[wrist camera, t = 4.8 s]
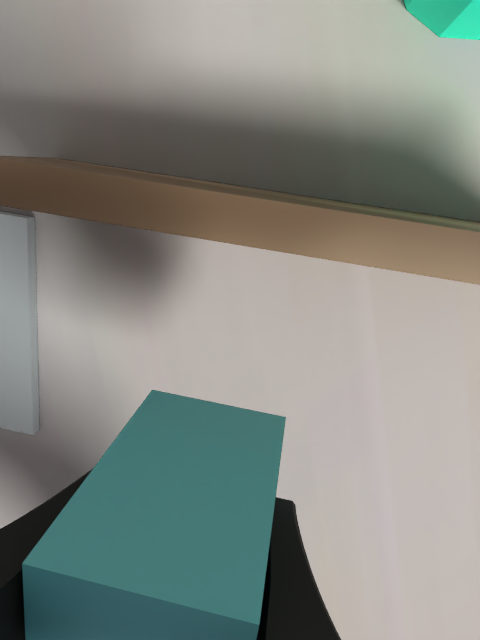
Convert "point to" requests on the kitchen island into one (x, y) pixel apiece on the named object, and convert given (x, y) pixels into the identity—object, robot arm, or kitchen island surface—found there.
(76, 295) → the kitchen island surface
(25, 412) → the grey mat
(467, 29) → the candle
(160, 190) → the walnut screen
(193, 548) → the teal block
